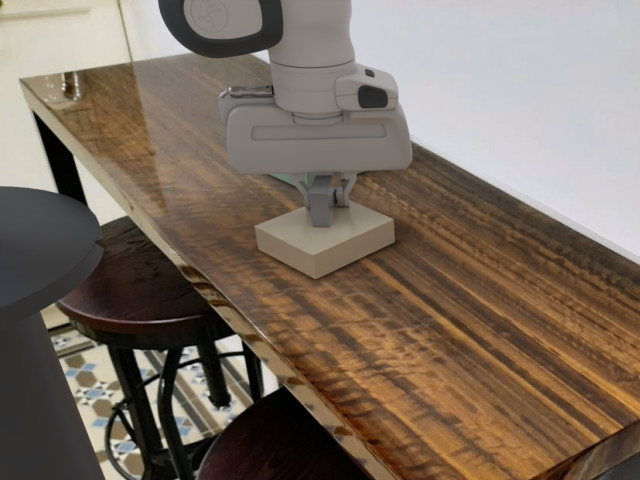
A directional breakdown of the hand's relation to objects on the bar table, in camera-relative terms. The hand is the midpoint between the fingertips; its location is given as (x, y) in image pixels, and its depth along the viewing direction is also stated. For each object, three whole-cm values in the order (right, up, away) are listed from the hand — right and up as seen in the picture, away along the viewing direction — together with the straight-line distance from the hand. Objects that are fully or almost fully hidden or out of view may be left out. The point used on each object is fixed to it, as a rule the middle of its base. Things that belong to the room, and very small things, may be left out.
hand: (327, 205), depth 88 cm
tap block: (0, -5, -1) cm, 5 cm away
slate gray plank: (0, 0, 0) cm, 0 cm away
